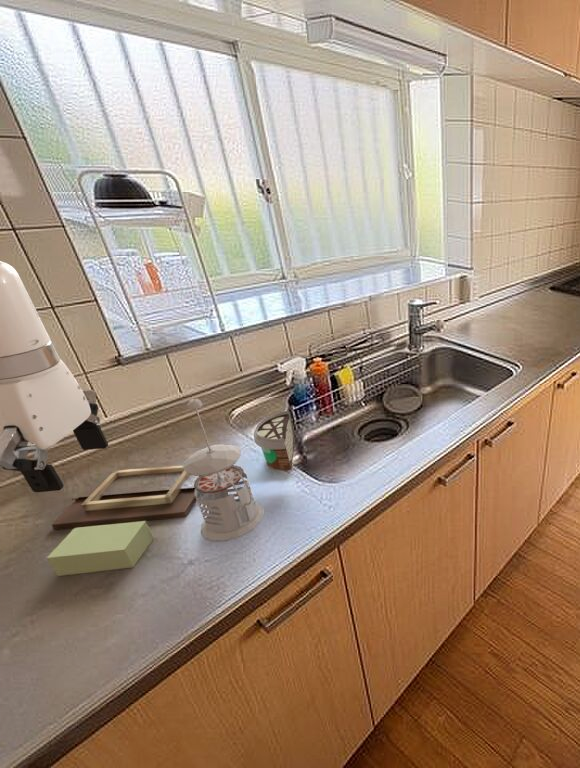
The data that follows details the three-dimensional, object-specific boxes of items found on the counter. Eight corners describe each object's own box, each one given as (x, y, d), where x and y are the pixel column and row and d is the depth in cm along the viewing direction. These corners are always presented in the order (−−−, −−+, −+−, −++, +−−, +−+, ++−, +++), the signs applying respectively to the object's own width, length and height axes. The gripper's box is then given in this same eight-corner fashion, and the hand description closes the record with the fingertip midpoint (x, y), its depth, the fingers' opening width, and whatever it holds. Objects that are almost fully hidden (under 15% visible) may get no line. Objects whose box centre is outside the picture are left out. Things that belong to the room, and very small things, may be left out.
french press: (242, 493, 82) (207, 379, 70) (282, 516, 77) (251, 398, 66) (188, 526, 74) (138, 404, 63) (229, 553, 69) (183, 427, 58)
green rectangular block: (57, 576, 64) (46, 558, 62) (84, 545, 69) (74, 527, 68) (133, 567, 66) (124, 549, 64) (154, 538, 71) (145, 520, 70)
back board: (54, 529, 72) (47, 518, 71) (109, 473, 85) (104, 463, 84) (186, 516, 76) (181, 505, 75) (219, 465, 89) (216, 455, 88)
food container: (266, 450, 94) (256, 412, 90) (297, 446, 96) (288, 409, 92) (258, 486, 84) (247, 445, 79) (292, 480, 86) (283, 440, 82)
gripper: (33, 338, 60) (84, 436, 68) (-92, 395, 45) (-9, 513, 53) (95, 336, 62) (137, 432, 70) (-7, 390, 47) (62, 506, 55)
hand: (74, 467), depth 61 cm, fingers open, 9 cm apart
